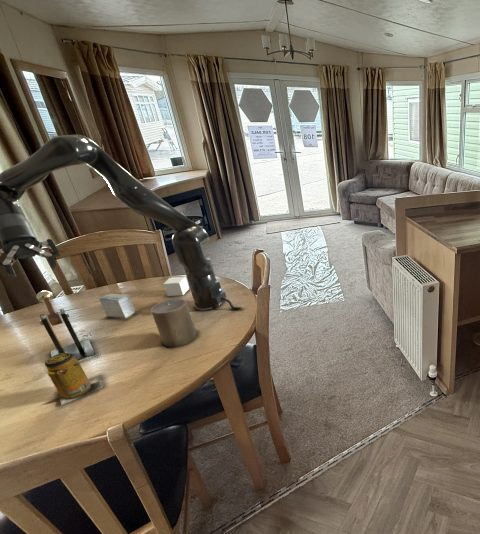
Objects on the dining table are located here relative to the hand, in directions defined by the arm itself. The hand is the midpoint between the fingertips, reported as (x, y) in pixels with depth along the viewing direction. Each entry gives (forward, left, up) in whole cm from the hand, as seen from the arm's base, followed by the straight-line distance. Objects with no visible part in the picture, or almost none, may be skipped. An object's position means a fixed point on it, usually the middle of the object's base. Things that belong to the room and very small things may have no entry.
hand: (34, 271), depth 110 cm
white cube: (-17, -32, -24) cm, 43 cm away
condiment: (-32, +25, -24) cm, 47 cm away
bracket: (-15, +11, -24) cm, 30 cm away
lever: (-10, +8, -10) cm, 16 cm away
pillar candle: (-42, 0, -24) cm, 48 cm away
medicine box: (-10, -12, -24) cm, 29 cm away
